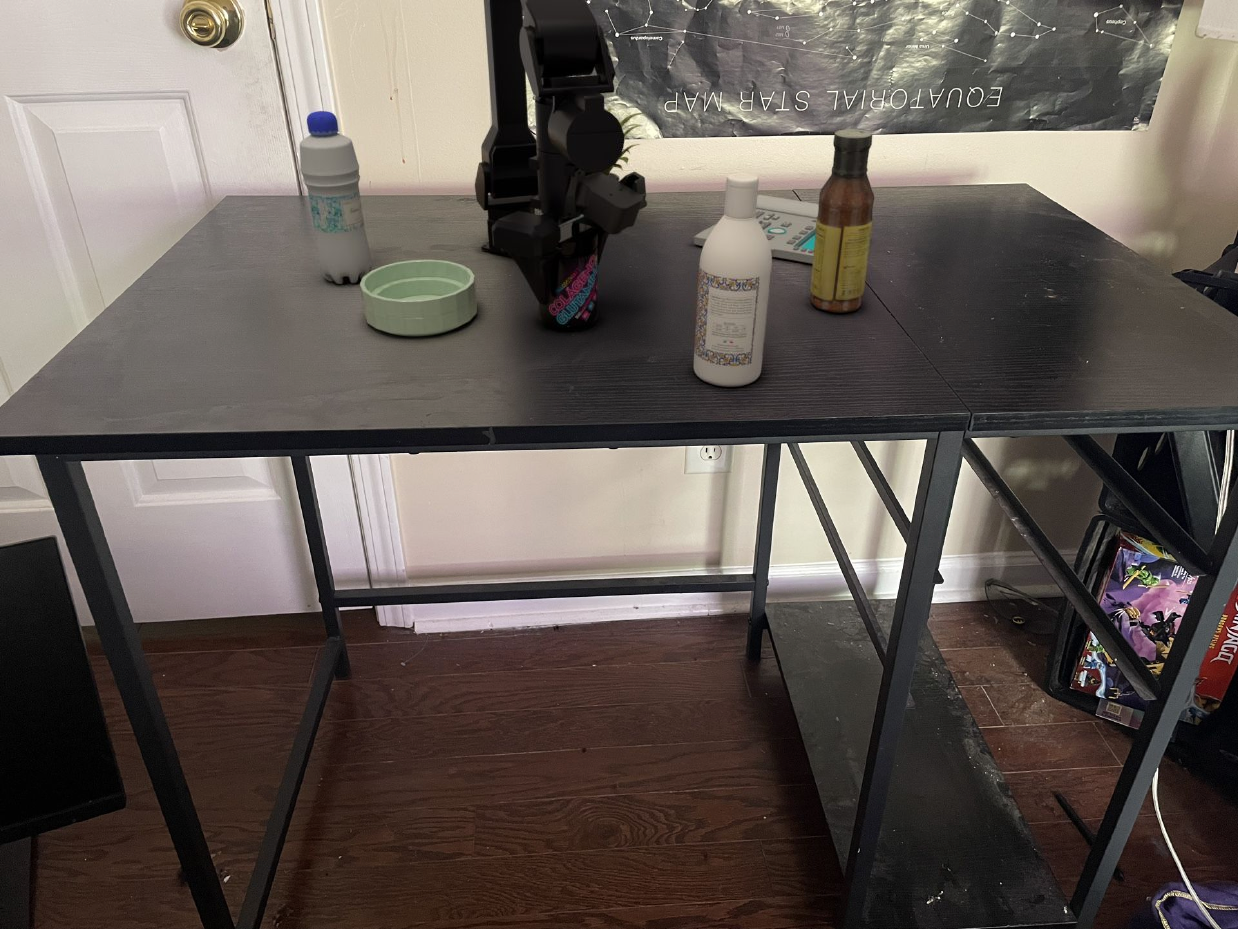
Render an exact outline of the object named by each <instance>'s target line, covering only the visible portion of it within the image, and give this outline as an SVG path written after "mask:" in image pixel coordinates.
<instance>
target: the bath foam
mask: <svg viewBox="0 0 1238 929" xmlns="http://www.w3.org/2000/svg"><path fill="white" fill-rule="evenodd" d="M759 179H760V178H759V176H758V175H756V174H754V173H749V172H733V173H729V174H727V176H726V180H725V193H724V207H723V212H724V213H723V215H722V216H721V218H720V219H719V220H718V222H716V223H717V225H716V226H715V227H714V229H713V230H712V231H711V233H710V235H709V236H708V238H707V240H706V242H705V244H704V246H702V249H701V253H700V258H699V263H698V277H697V296H696V297H697V298H696V313H695V331H694V345H693V346H694V347H693V349H694V350H693V371H694V374H695V375H696V376H697V377H698V378H699V379H700V380H702V381H703V382H706V383H708V384H711V385H714V386H717V387H727V388H735V387H743V386H746V385H750V384H751V383H753V382H755V381H756V380H758V378H759V377H760V375H761V373H762V367H763V357H764V349H765V340H766V331H767V321H768V311H769V301H770V292H771V283H772V274H773V257H772V255H771V249H770V245H769V242H768V240H767V237H766V235H765V233H764V231H763V229H762V227H761V226H760V224H759V222H758V220H757V218H756V217H755V213H756V205H757V196H758V195H759V194H758V193H759V192H758V191H759V181H760V180H759Z"/></svg>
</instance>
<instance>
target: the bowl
mask: <svg viewBox="0 0 1238 929" xmlns="http://www.w3.org/2000/svg"><path fill="white" fill-rule="evenodd" d="M360 280H361V281H360V283H359V288H360V289H359V290H360V295H361V301H362V302H361V303H362V308H363V315H364V318H365V320H366V322H367V324H369V325H370V326H371V327H373V328H374V329H376V330H379V331H383V332H385V333H388V334H392V335H396V336H404V337H426V336H434V335H440V334H443V333H446V332H447V333H448V332H450V331H453V330H455V329H457V328H459V327H460V326H462V325H465V324H466V323H468V322H470V321H471V320H472V319H473V318H474V317H475V316H476V314H477V311H478V300H477V288H476V276H475V274H474V272H473V271H472V270H471V268H468V267H467V266H465V265H463V264H461V263H456V262H453V261H450V260H439V259H412V260H404V261H397V262H393V263H390V264H386V265H382V266H380V267H377V268H375V269H372V270H370V272H369V273H368V274H367V275H365V276H364V277H363V278H362V279H360Z"/></svg>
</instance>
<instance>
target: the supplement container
mask: <svg viewBox="0 0 1238 929" xmlns="http://www.w3.org/2000/svg"><path fill="white" fill-rule="evenodd" d="M557 248H561V249H562V251H561V252H560V253H559V254H558V255H557V256H556V257H555V258H554V259H553V260H552V267H551V288H550V299H549V304H547V305H543V304H540V303H539V302H538V311H539V313H538V314H539V319H540V321H541V323H542V324H543V325H544V327H547V328H548V329H551V330H554V331H558V332H577V331H582V330H585V329H589V328H590V327H592V326H593V325H594V324H595V322H596V321H597V319H598V317H599V316H598V315H599V314H598V313H599V312H598V311H599V308H598V306H599V305H598V301H599V299H598V296H599V295H598V289H599V288H598V287H599V286H598V269H597V249H598V232H597V230H596V229H595V228H594V227H592V226H589V225H586V224H581V223H572V222H571V223H569V224H567V225H565V226H563V227H561V239H560V242H559V244H558V246H557Z"/></svg>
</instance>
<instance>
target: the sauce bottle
mask: <svg viewBox="0 0 1238 929" xmlns="http://www.w3.org/2000/svg"><path fill="white" fill-rule="evenodd" d="M833 135H834V136H833V142H832V143H833V148H834V151H833V152H834V153H833V159H832V160H833V161H832V162H833V163H832V168H831V174H830V175H829V177H828V179H827V180H826V181H825V183H824V184H823V186H822V187H821V188H820V191H819V194H818V195H819V196H818V204H819V208H818V217H817V221H816V233H815V244H814V255H813V264H812V269H811V275H810V276H811V277H810V287H809V288H810V289H809V290H810V301H811V304H812V305H813V306H814V308H816V309H817V310H821V311H825V312H829V313H834V314H841V313H842V314H843V313H844V314H845V313H850V312H853V311H854V312H855V311H856V310H858V309H859V308H860V307H861V305H862V302H863V296H864V293H865V287H866V279H867V270H868V261H869V252H870V245H871V236H872V230H873V221H874V219H873V209H874V202H875V194H874V193H875V192H874V191H873V188H872V186H871V182H870V180H869V176H868V171H869V168H868V165H869V164H868V163H869V155H870V149H871V147H872V144H873V133H872V132H871V131H869V130H864V129H858V128H845V129H839V130H836V131H835V132H834V134H833Z"/></svg>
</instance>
